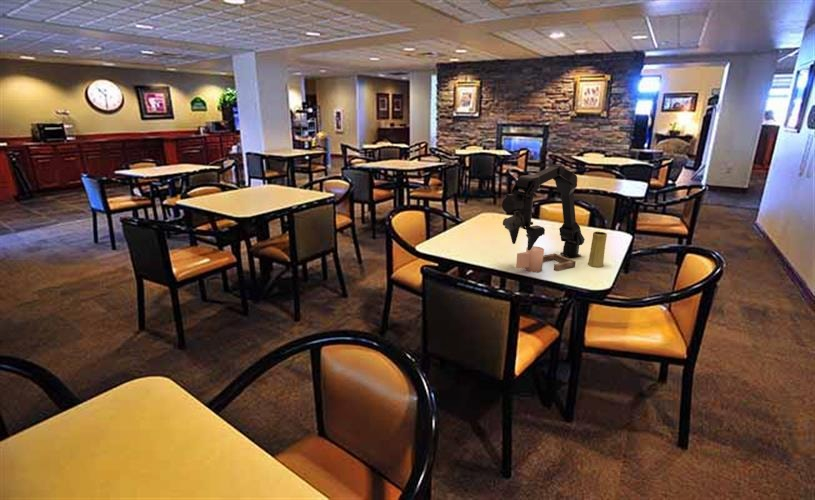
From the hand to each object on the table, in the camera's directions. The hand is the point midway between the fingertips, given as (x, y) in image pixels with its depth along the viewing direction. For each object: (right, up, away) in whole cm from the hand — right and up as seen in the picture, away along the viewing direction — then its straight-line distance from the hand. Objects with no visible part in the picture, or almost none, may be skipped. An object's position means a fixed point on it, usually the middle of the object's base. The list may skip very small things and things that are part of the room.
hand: (521, 246), depth 175 cm
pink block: (+5, -10, +6) cm, 12 cm away
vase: (+35, -8, +12) cm, 38 cm away
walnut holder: (+17, -8, +12) cm, 22 cm away
